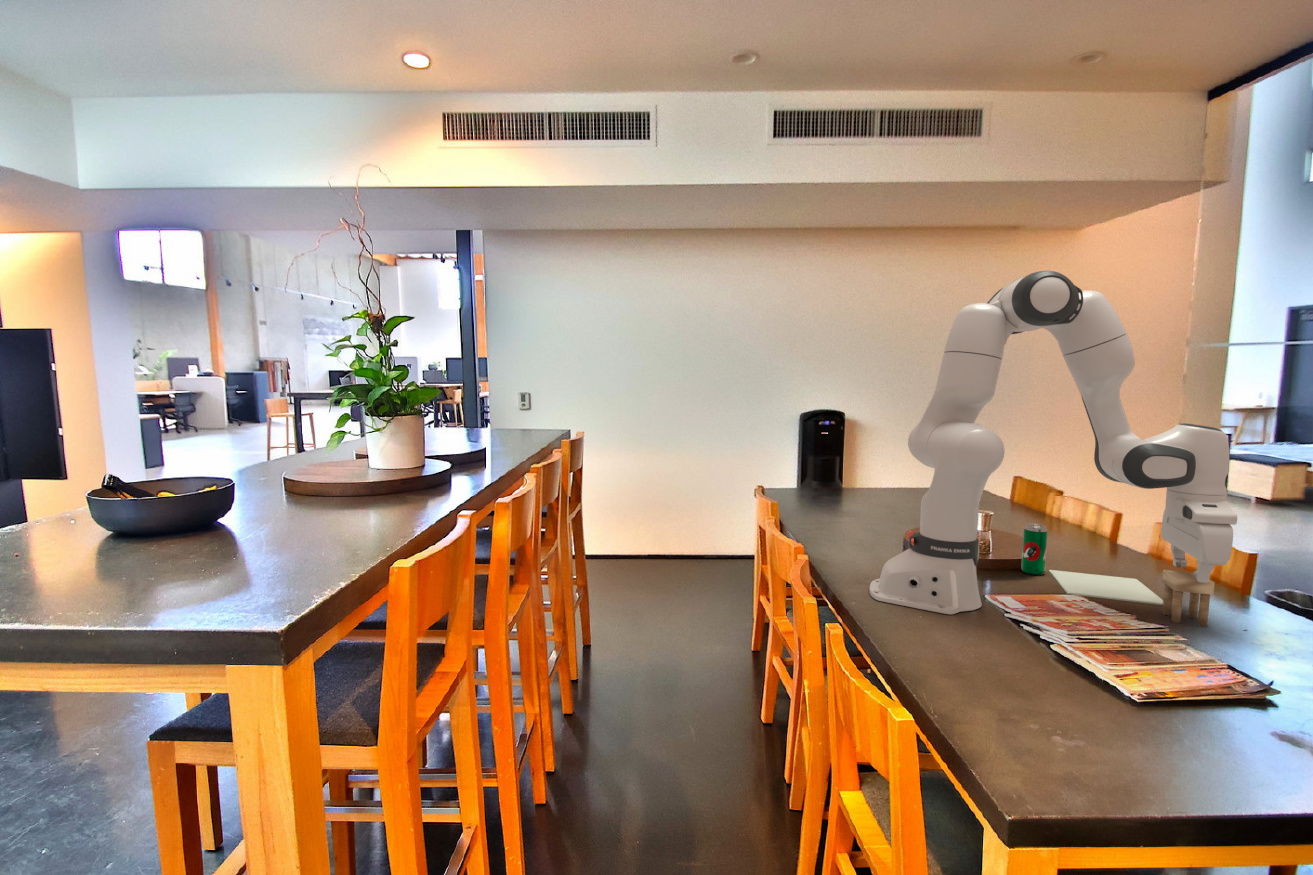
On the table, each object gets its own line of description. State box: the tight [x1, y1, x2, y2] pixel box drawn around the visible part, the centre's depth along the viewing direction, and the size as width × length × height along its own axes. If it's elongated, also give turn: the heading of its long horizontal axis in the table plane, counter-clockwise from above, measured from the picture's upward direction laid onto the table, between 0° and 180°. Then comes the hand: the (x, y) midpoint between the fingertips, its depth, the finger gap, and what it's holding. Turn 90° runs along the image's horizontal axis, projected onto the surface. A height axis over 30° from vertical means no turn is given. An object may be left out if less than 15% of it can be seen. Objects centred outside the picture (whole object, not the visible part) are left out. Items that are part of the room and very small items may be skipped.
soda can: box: [1020, 523, 1049, 576], centre depth 148 cm, size 5×5×12 cm
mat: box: [1048, 569, 1164, 606], centre depth 138 cm, size 18×18×1 cm
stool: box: [1161, 569, 1216, 627], centre depth 119 cm, size 6×6×9 cm
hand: (1190, 574), depth 118 cm, fingers open, 8 cm apart
